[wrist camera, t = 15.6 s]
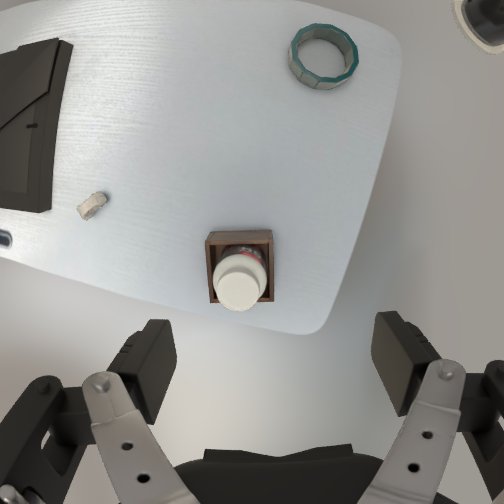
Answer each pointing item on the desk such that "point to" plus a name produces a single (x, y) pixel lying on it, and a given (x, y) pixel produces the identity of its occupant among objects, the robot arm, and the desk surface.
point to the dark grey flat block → (30, 122)
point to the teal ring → (334, 37)
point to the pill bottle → (240, 276)
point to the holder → (223, 238)
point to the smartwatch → (91, 205)
